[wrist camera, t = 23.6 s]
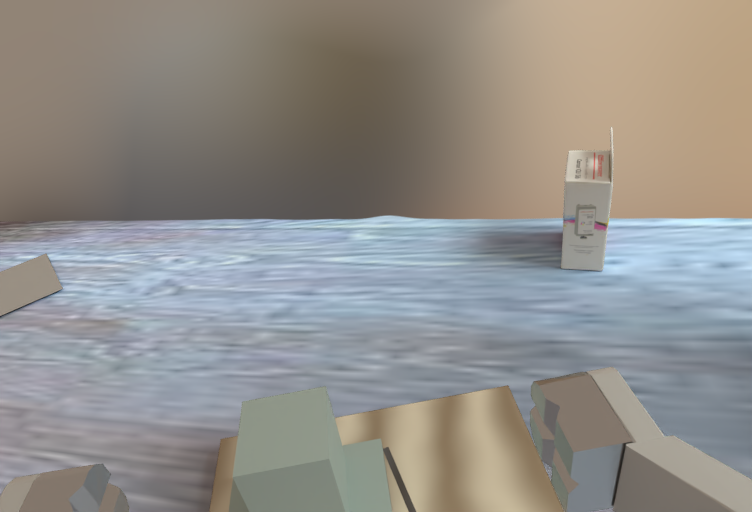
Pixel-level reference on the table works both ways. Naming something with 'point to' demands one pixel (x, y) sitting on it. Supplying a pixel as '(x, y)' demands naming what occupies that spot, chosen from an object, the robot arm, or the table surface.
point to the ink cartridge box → (587, 208)
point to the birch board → (442, 456)
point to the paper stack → (27, 283)
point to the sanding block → (304, 460)
